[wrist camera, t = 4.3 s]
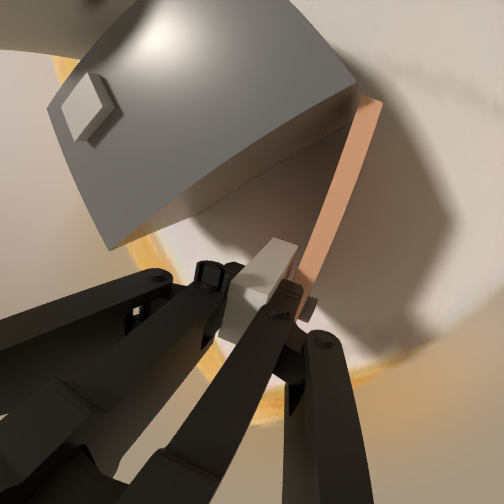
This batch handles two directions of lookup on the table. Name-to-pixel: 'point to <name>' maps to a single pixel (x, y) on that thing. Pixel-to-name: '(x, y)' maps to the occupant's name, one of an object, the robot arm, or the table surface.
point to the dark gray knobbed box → (193, 107)
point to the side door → (336, 201)
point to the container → (57, 24)
